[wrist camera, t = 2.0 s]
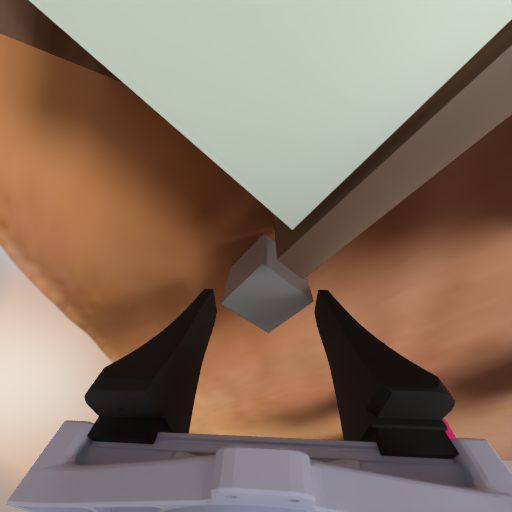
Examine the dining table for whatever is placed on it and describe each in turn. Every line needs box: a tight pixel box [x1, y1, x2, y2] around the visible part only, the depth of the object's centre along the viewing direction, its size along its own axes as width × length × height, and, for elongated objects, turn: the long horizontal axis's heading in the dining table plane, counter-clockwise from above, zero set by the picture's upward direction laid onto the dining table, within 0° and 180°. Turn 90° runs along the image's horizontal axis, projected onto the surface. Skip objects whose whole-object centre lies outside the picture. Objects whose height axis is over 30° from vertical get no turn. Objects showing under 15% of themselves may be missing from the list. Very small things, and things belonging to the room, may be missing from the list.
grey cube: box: [220, 233, 313, 333], centre depth 15 cm, size 4×4×4 cm
